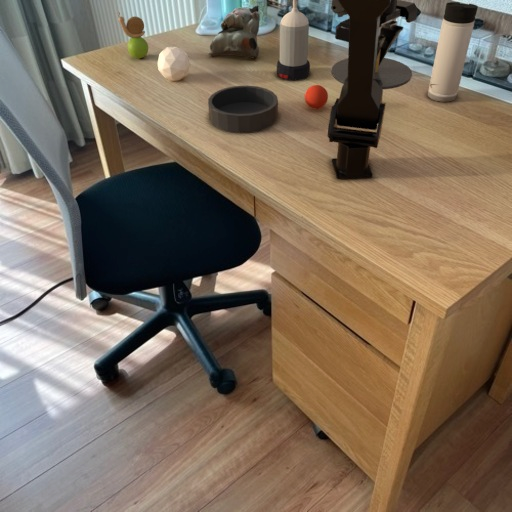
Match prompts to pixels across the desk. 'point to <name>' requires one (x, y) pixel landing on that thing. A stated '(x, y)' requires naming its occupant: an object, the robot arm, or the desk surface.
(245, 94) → the black round open container
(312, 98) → the ball
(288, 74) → the humidifier
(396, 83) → the flat gray disc
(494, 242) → the desk surface
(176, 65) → the geometric ball
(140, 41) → the snail figurine
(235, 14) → the lucky cat figurine
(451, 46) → the travel mug
